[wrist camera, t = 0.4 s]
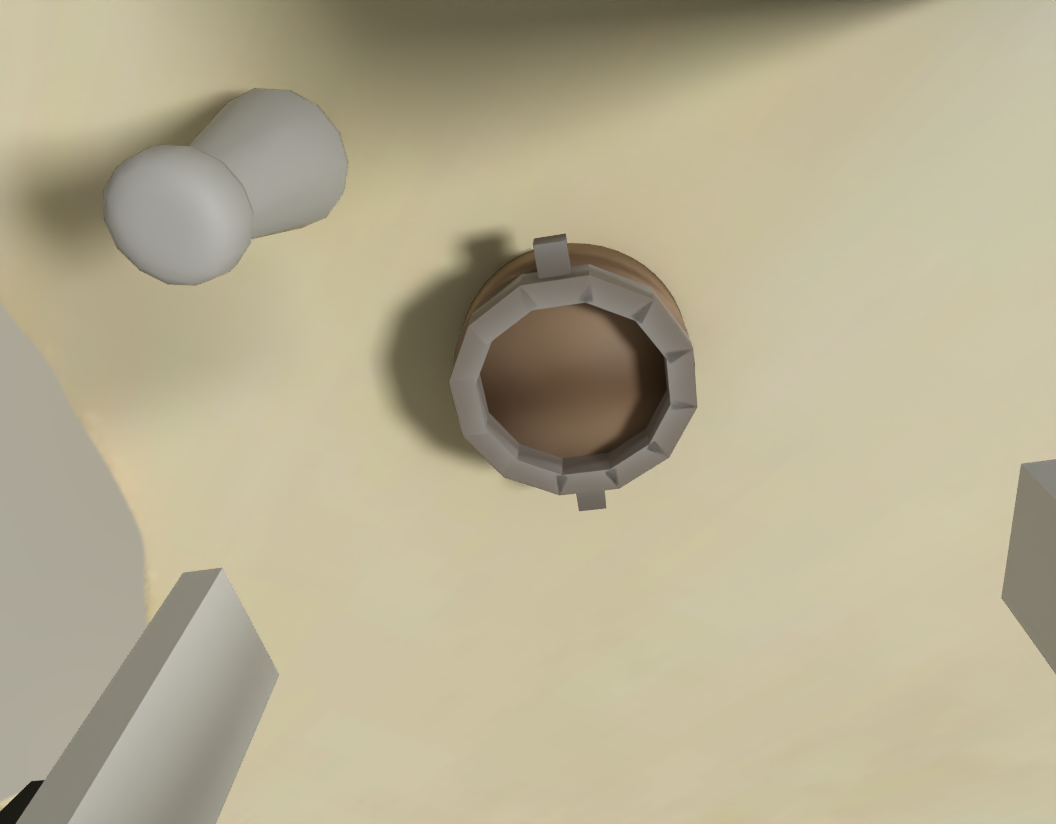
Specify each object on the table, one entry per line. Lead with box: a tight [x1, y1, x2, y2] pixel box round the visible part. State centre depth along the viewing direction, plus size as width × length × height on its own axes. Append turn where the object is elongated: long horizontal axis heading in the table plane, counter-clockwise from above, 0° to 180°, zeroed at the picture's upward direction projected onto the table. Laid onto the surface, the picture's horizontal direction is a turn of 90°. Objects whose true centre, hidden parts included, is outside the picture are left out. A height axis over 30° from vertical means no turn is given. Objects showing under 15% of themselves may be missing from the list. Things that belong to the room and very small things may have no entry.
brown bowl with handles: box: [449, 234, 697, 511], centre depth 36 cm, size 14×12×4 cm
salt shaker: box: [103, 88, 348, 286], centre depth 28 cm, size 6×6×13 cm
